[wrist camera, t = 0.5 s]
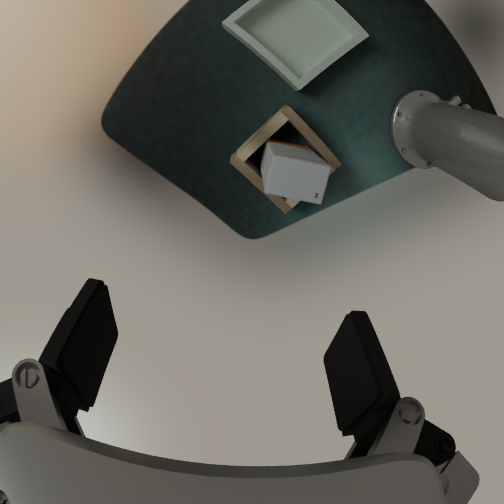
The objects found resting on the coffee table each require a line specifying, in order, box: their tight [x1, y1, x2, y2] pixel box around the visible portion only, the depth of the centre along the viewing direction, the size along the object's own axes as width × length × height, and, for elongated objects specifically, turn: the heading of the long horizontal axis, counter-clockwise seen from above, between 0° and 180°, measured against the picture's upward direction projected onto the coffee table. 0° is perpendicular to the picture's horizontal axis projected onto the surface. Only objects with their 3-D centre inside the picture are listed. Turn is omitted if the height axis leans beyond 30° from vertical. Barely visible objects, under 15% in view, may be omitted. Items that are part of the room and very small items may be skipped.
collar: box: [230, 105, 342, 214], centre depth 34 cm, size 10×10×4 cm
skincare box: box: [260, 138, 331, 204], centre depth 31 cm, size 6×4×12 cm
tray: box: [222, 0, 369, 91], centre depth 25 cm, size 13×13×3 cm
